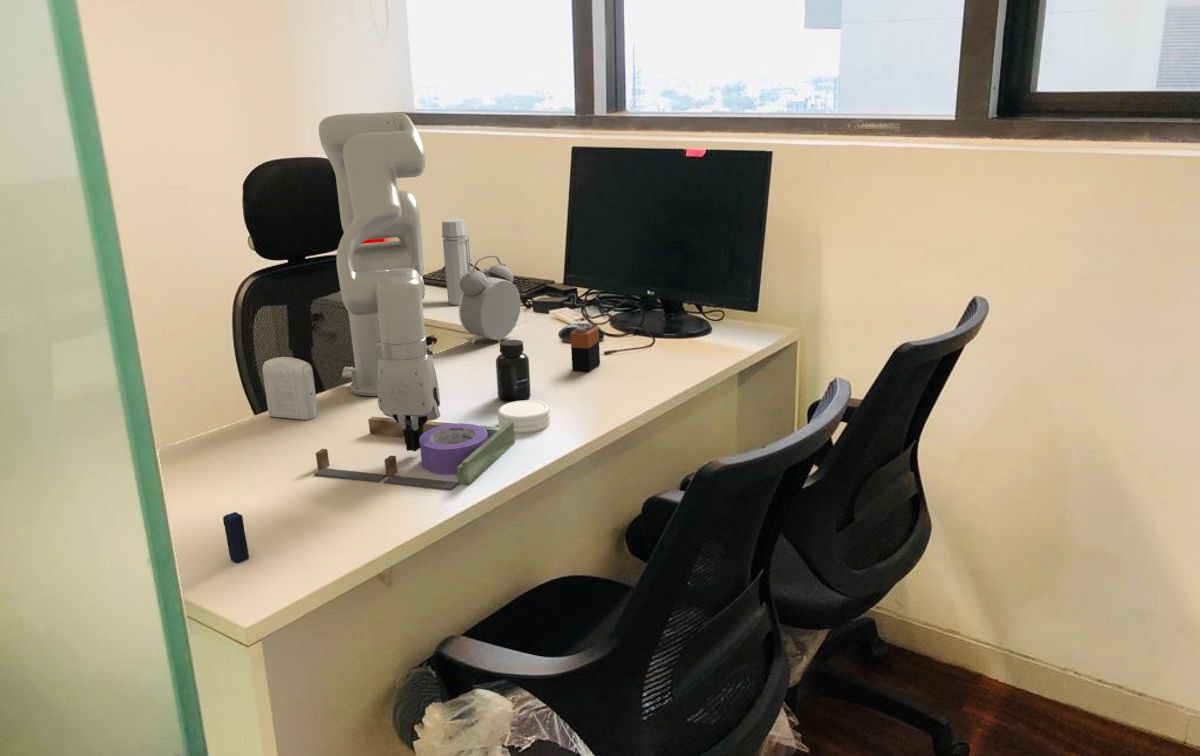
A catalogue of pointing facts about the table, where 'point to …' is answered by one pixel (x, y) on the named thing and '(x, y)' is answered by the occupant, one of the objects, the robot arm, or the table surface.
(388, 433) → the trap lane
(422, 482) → the mats
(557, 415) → the table surface
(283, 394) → the photo printer
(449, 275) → the water bottle
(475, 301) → the alarm clock
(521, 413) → the coaster
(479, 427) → the tape roll
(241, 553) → the eraser
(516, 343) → the supplement bottle
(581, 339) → the battery
